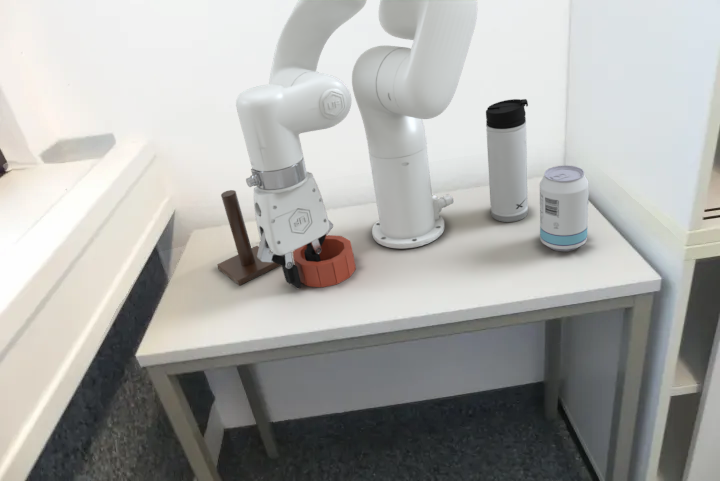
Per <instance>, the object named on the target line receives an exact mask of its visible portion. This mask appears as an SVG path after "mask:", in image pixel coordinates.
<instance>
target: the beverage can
mask: <svg viewBox="0 0 720 481" xmlns="http://www.w3.org/2000/svg"><path fill="white" fill-rule="evenodd" d="M543 174H544V175H543V177H542V179H541V180H540V182H539V233H540V234H539V237H540V238H539V239H540V242H541V243H542V244H543V245H545V246H546V247H548V248H549V249H551V250H553V251H555V252H571V251H575V250H576V249H578V248H579V247H582V246H583V245H585V244H586V242H587V241H588V230H589V229H588V227H589V226H588V225H589V224H588V223H589V196H590V194H589V191H590V182H589V180H588V178H587V177H586V175H585V170H583V168H581V167H578V166H575V165H568V164H567V165H555V166H553V167H550V168H548V169H546V170H545V171H544V173H543Z"/></svg>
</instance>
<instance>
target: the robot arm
mask: <svg viewBox="0 0 720 481" xmlns="http://www.w3.org/2000/svg"><path fill="white" fill-rule="evenodd" d="M367 1H368V0H298V1H297V2H296V4H295V5H294V8H293V9H292V11H291V12H290V15H289V16H288V18H287V20H286V22H285V24H284V25H283V27H282V30H281V31H280V34H279V36H278V39H277V42H276V46H275V49H274V54H273V58H272V64H271V68H270V72H269V79H268V80H269V82H268V84H263V85H258V86H257V85H256V86H253V87H250V88H248V89H245V90H243V91H242V92H240V93H239V94H238V96H237V97H236V100H235V107H236V111H237V112H236V113H237V116H238V120H239V123H240V127H241V131H242V135H243V140H244V143H245V146H246V150H247V154H248V158H249V161H250V165H251V166H250V167H251V168H250V172H251V175H250V176H249V177H247V178H245V182H246V185H247V186H248V187H249V188H252V187H253V207H254V216H255V222H256V228H257V231H258V236H259V240H260V241H259V245H258V247H259V249H258V253H257V258H258V259H259V260H260V261H262V262H275V263H277V264H279V265H280V266H281V268H282V271H283V275H284V280H285V282H286V283H287V284H288V285H291V286H293V287H294V288H296V289H297V290H298V289H301V287H302V282H301V281H300V277H299V273H298V268H297V266H296V265H295V263H294V259H293V252H294V250H296V249H298V248H300V247H302V246H304V245H306V250H304V251H305V252H304V254H305V259H306V261H313V262H320V261H321V260H320V255H319V254H320V253H321V251H322V249H321V246H322V244H323V242H324V240H325V238H326V235H327V236H328V235H329V233H331V231H332V230H333V228H334V224H333V222H332V221H331V220H330V219H329V217H328V213H327V209H326V206H325V202H324V199H323V196H322V193H321V191H320V187H319V186H318V183H317V181H316V179H315V176H314V174H313V173H312V172H310V171H307V167H306V163H305V162H306V161H305V157H304V153H303V149H302V142H301V139H300V134H305V133H310V132H315V131H322V130H326V129H331V128H332V127H335V126H337V125H339V124H340V123H342V122H343V121H344V120H345V118H346V117H347V116H348V114H349V113H350V111H351V107H352V95H351V91H350V89H349V87H348V86H347V84H345V83H344V81H343V80H341V79H340V78H338V77H337V76H334V75H332V74H328V73H324V72H319V71H317V68H318V64H319V61H320V57H321V54H322V52H323V50H324V48H325V45H326V43H327V42H328V40H329V39H330V38H331V36H332V35H333V34H334V33H335V32H336V30H338V29H339V28H340V27H341V26H343V25H344V24H345V23H346V22H348V21H349V20H351V19H352V18H353V17H355V16H356V15H357V14H358V13H359V12H360V11H361V10H362V9H363V8H364V7H365V6H366V4H367ZM478 11H479V10H478V0H380V1H379V5H378V21H379V25H380V26H381V28H382V30H384V32H385V33H386V34H388V35H390V36H391V37H395V38H398V39H402V40H407V41H413V42H412V45H411V48H410V47H405V46H396V45H377V46H373V47H370V48H368V49H366V50H365V51H363V52H362V53H361V54H360V55H359V56H358V58H357V59H356V61H355V63H354V65H353V69H352V73H351V86H352V91H353V95H354V99H355V102H356V104H357V107H358V108H357V109H358V110H359V113H360V116H361V120H362V123H363V128H364V132H365V137H366V138H365V139H366V143H367V149H368V157H369V163H370V169H371V170H370V171H371V176H372V182H373V190H374V195H375V201H376V207H377V208H376V209H377V215H378V220H376V222H375V223H374V224H373V226H372V228H371V233H372V238H373V240H374V241H375V242H376V243H377V244H379V245H381V246H383V247H385V248H389V249H390V248H391V249H401V250H402V249H404V250H405V249H413V248H417V247H419V248H420V247H422V246H426V245H428V244H430V243H432V242H434V241H436V240H437V239H438V238H440V237H441V236H442V234H443V233H444V231H445V228H446V227H445V220H444V218H443V217H442V216H441V215H440V213H441V212H442V210H443V209H444V208H446V207H449V206H450V205H452V204H454V201H455V200H454V197H453V196H452V195H451V194H450V193H447V194H445V195H442V196H441V197H439V198H438V196H437V195H436V194H433V190H432V181H431V170H430V162H429V154H428V153H429V152H428V142H427V134H426V133H427V132H426V128H425V125H424V121H423V120H430V119H431V120H432V119H434V118H437V117H438V116H440V115H441V114H442V113H443V112H445V110H446V109H447V108H448V107H449V106H450V104H451V102H452V100H453V98H454V96H455V93H456V91H457V88H458V85H459V82H460V79H461V75H462V72H463V69H464V65H465V62H466V59H467V56H468V52H469V49H470V46H471V42H472V39H473V36H474V32H475V29H476V25H477V20H478Z"/></svg>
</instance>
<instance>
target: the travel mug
mask: <svg viewBox="0 0 720 481" xmlns="http://www.w3.org/2000/svg"><path fill="white" fill-rule="evenodd" d="M528 106H529V101H528V99H526V98H523V99H519V98H514V99H512V98H511V99H505V100H501V101H497V102H495V103H493V104H491V105H489V106H488V107H487V109H486V110H485V119H486V121H485V123H486V124H485V127H486V129H485V130H486V148H487V163H488V166H487V168H488V182H489V183H488V184H489V203H490V215H491V217H492V218H493V219H494V220H496V221H498V222H503V223H514V222H518V221H520V220H523V219H524V218H526V217H527V216H528V214H529V206H528V205H529V202H528V201H529V200H528V196H529V195H528V192H529V191H528V151H527V118H526V110H525V109H526V108H527V107H528ZM525 107H526V108H525Z"/></svg>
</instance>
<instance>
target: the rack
mask: <svg viewBox="0 0 720 481" xmlns="http://www.w3.org/2000/svg"><path fill="white" fill-rule="evenodd" d="M220 197H221V200H222V204H223V207H224V210H225V214H226V218H227V220H228V225H229V228H230V231H231V234H232V237H233V238H232V239H233V241H234V245H235V248H236V251H237V254H236V255H234V256H232V257H230V258H227V259H225V260H224V261H223V260H222V261H221V262H219V263H217V268H218V270H219V271H220V272H221V273H223V274H224V275H226V277H227V278H229V279H231V281H233V282H234V283H236V285H238V286H242V285H243V284H246V283H248V282H250V281H251V280H253V279H256V278H258V277H260V276H261V275H264V274H266V273H267V272H270V271H271V270H274V269H275V268H278V267H280V266H281V265H279V264H277V263H275V262H262V261H260V260H259V259H258V258H257V253H258V249H259V245H256V246H254V247H252V245H251V244H252V243H251V240H250V238H249V234H248V231H247V227H246V223H245V220H244V216H243V212H242V209H241V205H240V201H239V198H238V194H237V191H236V190H234V189H233V190H232V189H230V190H226V191H223V192H222V193H221V194H220Z"/></svg>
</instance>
